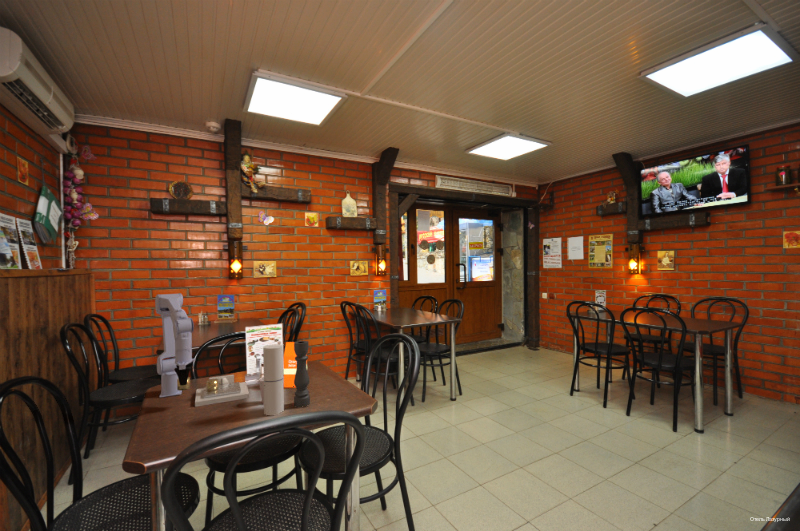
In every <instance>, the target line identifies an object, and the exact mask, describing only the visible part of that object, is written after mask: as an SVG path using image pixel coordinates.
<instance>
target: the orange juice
mask: <svg viewBox="0 0 800 531" xmlns="http://www.w3.org/2000/svg"><path fill="white" fill-rule="evenodd" d="M294 342H295V341H286V342H285V348H284V351H283V382H284V388H296V387H295V385H294V378H295V374H296V369H297V361H296V360H295V357H296V354H295V351H294ZM306 356H308V355H306ZM306 368H307V369H308V359H307V360H306ZM293 386H294V387H293Z"/></svg>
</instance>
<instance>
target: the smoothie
mask: <svg viewBox="0 0 800 531" xmlns="http://www.w3.org/2000/svg"><path fill="white" fill-rule="evenodd" d="M258 383H259V384H258V385H259V389H260V396H261V403H262V404H263V405H264V376H262V377H260V378H259V379H258Z"/></svg>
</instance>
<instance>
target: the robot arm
mask: <svg viewBox="0 0 800 531" xmlns="http://www.w3.org/2000/svg"><path fill="white" fill-rule="evenodd" d="M154 297H155V298H154V304H155V305H154V306H155V312H156V314H157V315H160V317H161V323H162V340H163V352H161V354H159V356H157V359H156V372H157V374H158V375H160V376H161V378H160V379H161V392H160V394H159V398H165V397H172V396H178V395H182V391H183V390H181V391H179V390H177V379H179V383H180V386H182V385H186V384H187V380H188V377H190V375H189V374H190V371H191V370H192V366H193V362H195V361H196V358H193V357H192V356H193V346H192V345H193V343H192V342H193V336H192V333H193V332H194V329H195V328H194V327H195V325H194V320H193V318H192V317H189V316H188V315H187V312H186V310H184V309H183V308H182V306H183V304H184V297H183V294H182V293H166V294H164V293H163V294H156V296H154Z"/></svg>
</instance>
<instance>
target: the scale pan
mask: <svg viewBox="0 0 800 531" xmlns="http://www.w3.org/2000/svg"><path fill="white" fill-rule="evenodd" d="M239 383H240V382H239V381H237V382H234V383H229V384H222V385H218V390H216V391H211V392H208V391H207V386H204V387H203V388H204V398H207V397H213V396H219V395H226V394H232V393H238V392H241V388H240V384H239Z"/></svg>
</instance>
